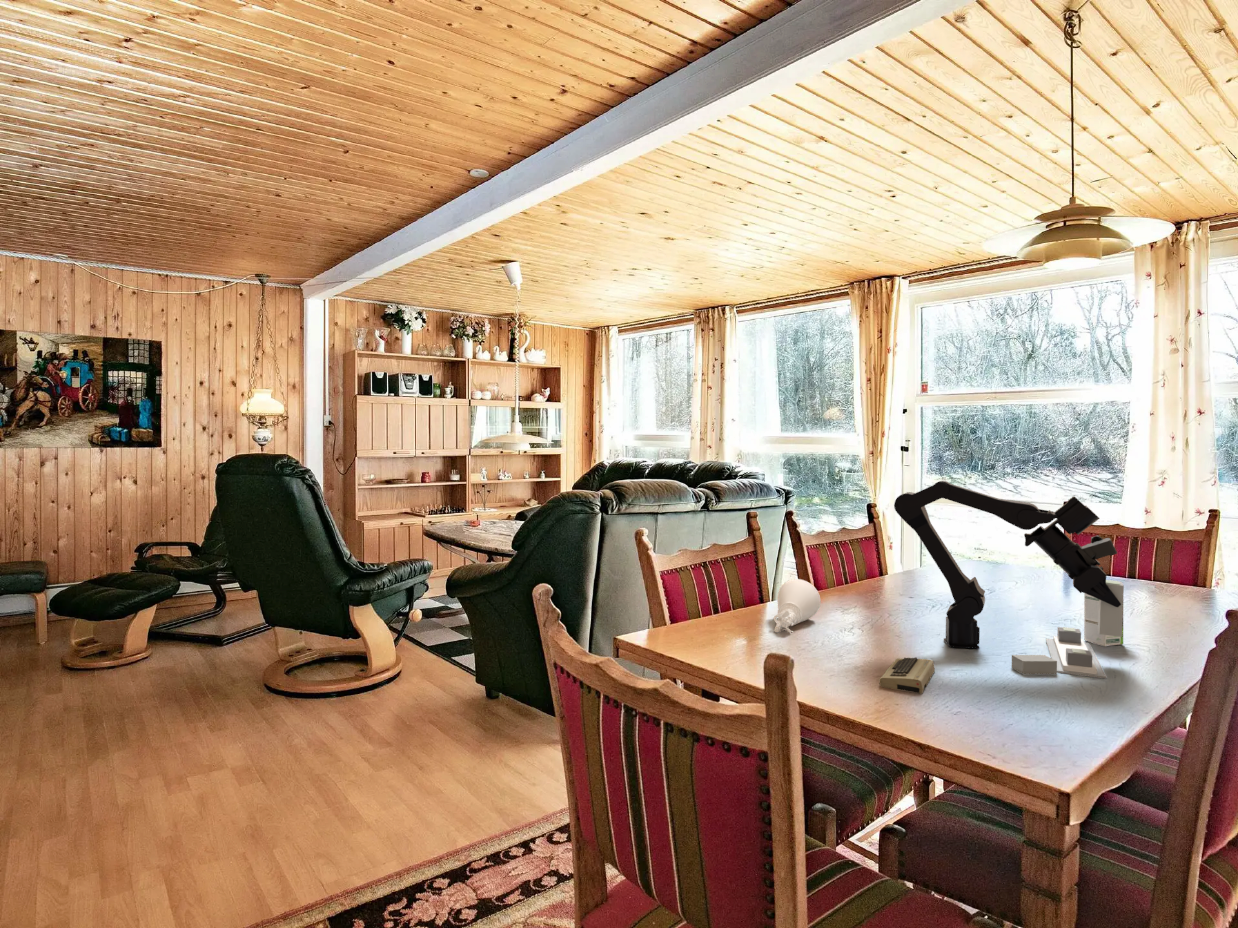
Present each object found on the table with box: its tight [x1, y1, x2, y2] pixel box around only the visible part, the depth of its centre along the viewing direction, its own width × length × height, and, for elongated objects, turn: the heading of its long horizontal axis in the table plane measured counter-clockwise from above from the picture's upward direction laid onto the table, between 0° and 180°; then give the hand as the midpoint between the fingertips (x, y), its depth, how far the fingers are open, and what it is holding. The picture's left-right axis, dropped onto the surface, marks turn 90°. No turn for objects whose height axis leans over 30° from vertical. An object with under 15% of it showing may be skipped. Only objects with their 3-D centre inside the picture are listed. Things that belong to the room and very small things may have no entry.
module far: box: [1056, 626, 1082, 644], centre depth 174 cm, size 4×4×3 cm
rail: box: [1045, 635, 1107, 679], centre depth 165 cm, size 9×28×1 cm, turn 153°
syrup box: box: [1083, 593, 1124, 647], centre depth 177 cm, size 6×6×14 cm
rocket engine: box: [773, 578, 822, 634], centre depth 193 cm, size 12×12×18 cm
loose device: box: [1011, 654, 1058, 675], centre depth 155 cm, size 7×4×3 cm, turn 90°
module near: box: [1066, 648, 1092, 668], centre depth 156 cm, size 4×4×3 cm
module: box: [1098, 579, 1125, 637], centre depth 160 cm, size 4×5×11 cm
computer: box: [878, 657, 936, 695], centre depth 150 cm, size 16×8×3 cm, turn 149°
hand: (1118, 603), depth 160 cm, fingers closed on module, 5 cm apart
